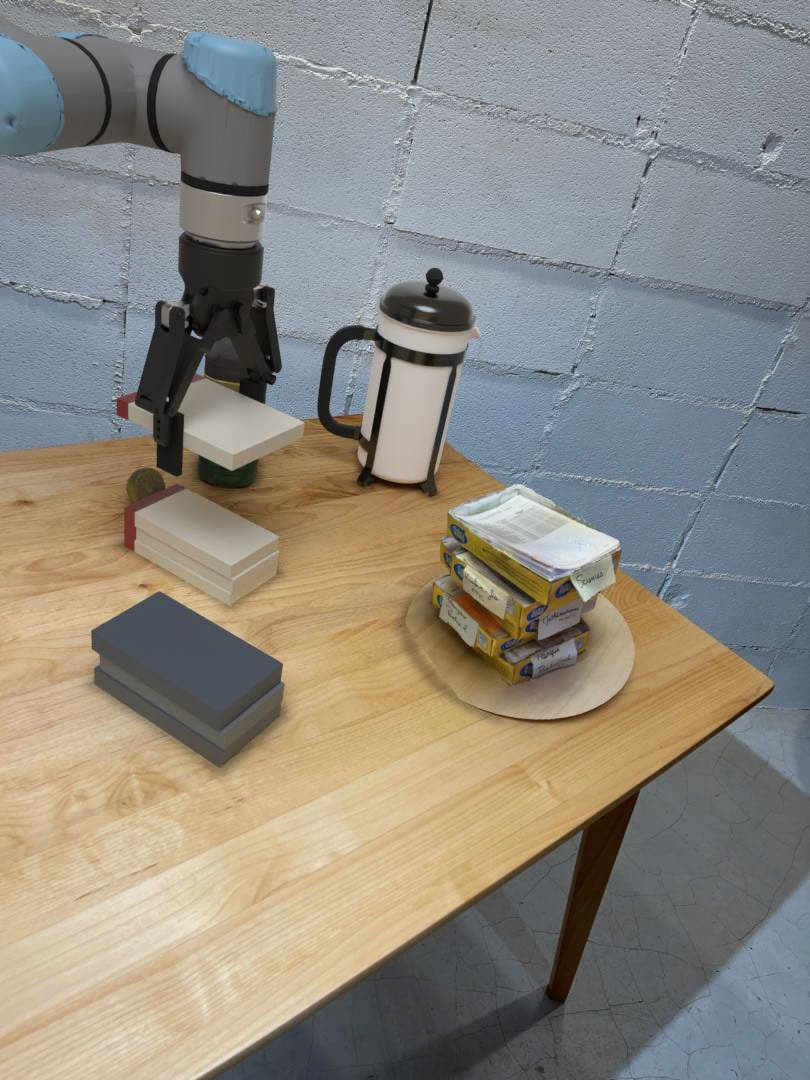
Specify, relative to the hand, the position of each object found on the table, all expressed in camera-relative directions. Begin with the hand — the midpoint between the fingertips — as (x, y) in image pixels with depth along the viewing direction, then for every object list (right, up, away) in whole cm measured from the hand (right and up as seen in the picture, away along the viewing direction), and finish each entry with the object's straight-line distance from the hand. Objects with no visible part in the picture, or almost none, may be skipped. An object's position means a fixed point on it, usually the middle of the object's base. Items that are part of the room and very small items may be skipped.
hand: (210, 453), depth 85 cm
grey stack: (0, -24, -10) cm, 26 cm away
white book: (+1, +3, -2) cm, 3 cm away
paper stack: (+32, -21, +6) cm, 39 cm away
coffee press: (+17, 0, +34) cm, 38 cm away
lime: (-12, -5, +15) cm, 20 cm away
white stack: (-3, -12, +8) cm, 14 cm away
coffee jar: (-4, 0, +26) cm, 26 cm away
